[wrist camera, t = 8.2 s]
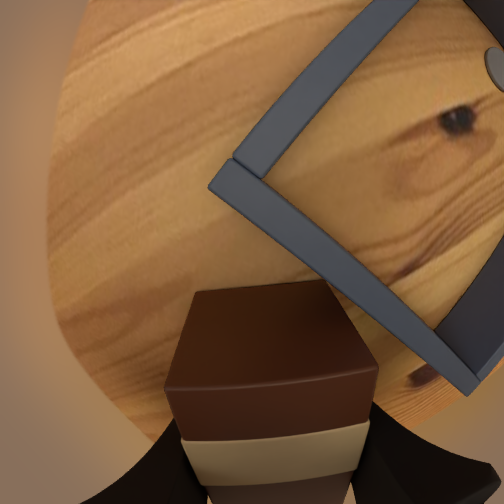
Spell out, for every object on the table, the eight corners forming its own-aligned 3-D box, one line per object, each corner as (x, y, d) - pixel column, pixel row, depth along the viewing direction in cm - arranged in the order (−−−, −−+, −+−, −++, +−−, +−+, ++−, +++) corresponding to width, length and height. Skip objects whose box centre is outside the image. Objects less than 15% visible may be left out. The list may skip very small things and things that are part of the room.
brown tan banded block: (228, 448, 13) (225, 533, 8) (193, 290, 10) (158, 389, 6) (318, 439, 13) (338, 521, 8) (326, 277, 10) (383, 366, 5)
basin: (219, 179, 9) (205, 187, 6) (428, -42, 6) (465, -74, 3) (429, 351, 12) (467, 397, 8) (559, 134, 9) (603, 139, 5)
